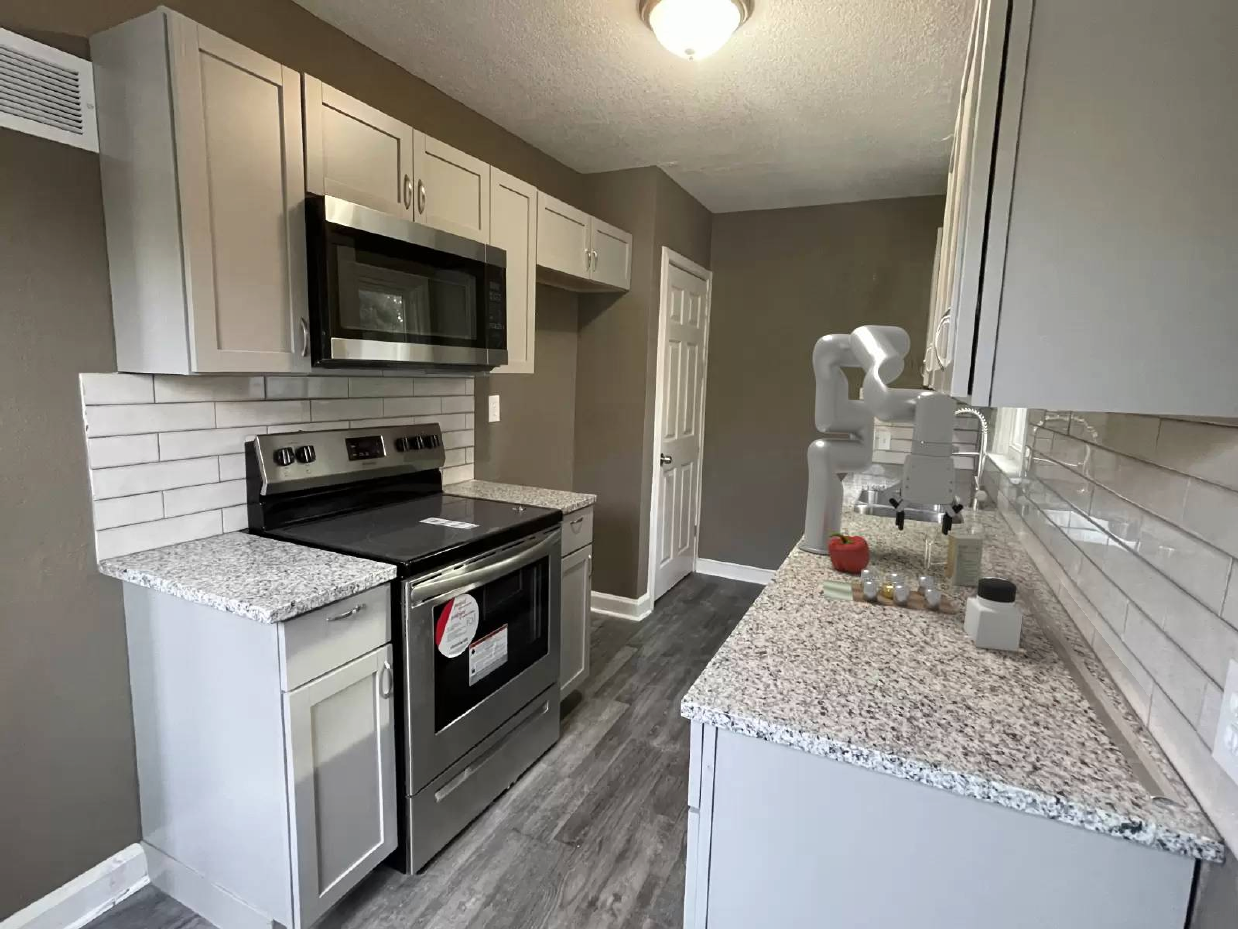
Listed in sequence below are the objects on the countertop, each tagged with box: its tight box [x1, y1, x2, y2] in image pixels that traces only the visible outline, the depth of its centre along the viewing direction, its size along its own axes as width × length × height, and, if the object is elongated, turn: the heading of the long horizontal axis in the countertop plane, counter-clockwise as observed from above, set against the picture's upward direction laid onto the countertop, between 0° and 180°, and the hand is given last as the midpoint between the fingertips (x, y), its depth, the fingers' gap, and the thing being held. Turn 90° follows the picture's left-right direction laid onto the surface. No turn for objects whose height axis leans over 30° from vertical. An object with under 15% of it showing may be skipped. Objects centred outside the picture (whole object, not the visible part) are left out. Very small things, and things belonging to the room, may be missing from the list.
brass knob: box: [882, 581, 897, 600], centre depth 137 cm, size 4×4×2 cm
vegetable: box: [828, 532, 870, 574], centre depth 157 cm, size 11×10×10 cm
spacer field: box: [859, 567, 942, 611], centre depth 137 cm, size 12×15×4 cm
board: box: [822, 579, 958, 616], centre depth 138 cm, size 13×26×1 cm, turn 72°
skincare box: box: [944, 533, 984, 588], centre depth 149 cm, size 6×4×12 cm
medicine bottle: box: [963, 576, 1024, 653], centre depth 115 cm, size 7×7×12 cm
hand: (922, 531), depth 134 cm, fingers open, 8 cm apart
